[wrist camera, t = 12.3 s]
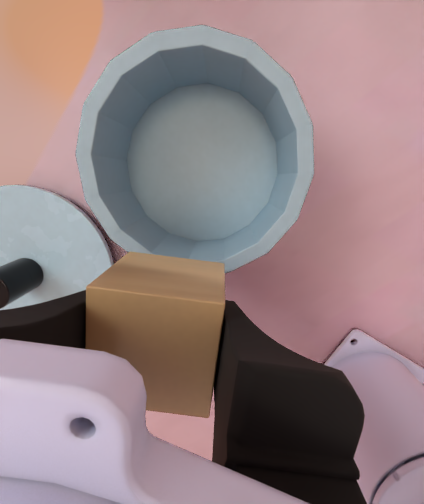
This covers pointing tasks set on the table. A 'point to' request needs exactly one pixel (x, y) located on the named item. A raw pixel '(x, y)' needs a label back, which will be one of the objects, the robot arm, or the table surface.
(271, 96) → the tin
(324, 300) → the table surface
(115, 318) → the block
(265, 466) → the robot arm
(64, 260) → the lid
